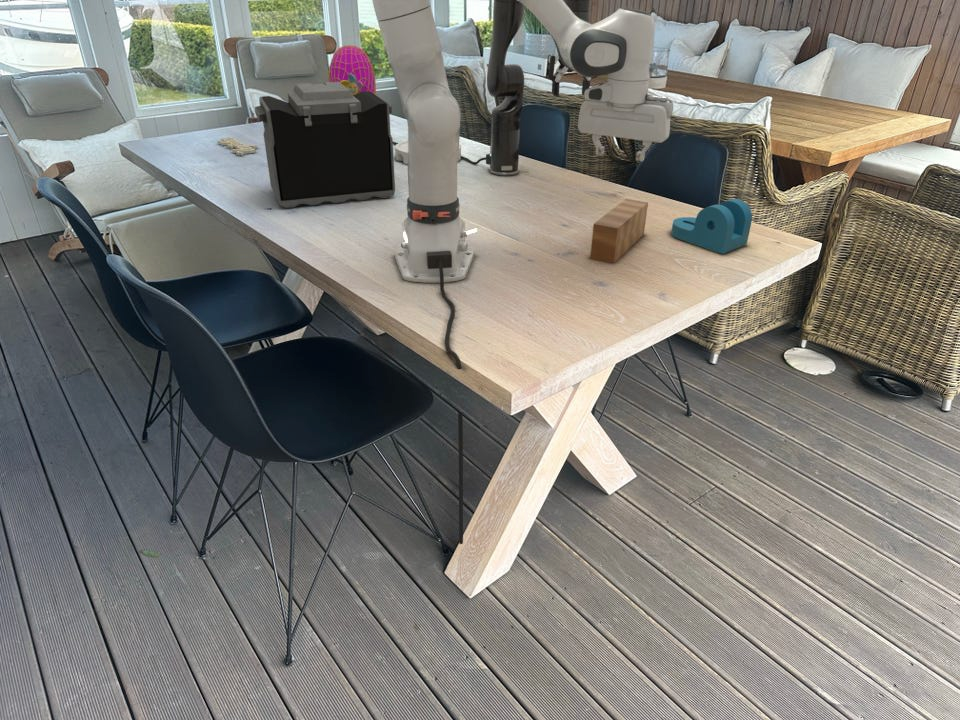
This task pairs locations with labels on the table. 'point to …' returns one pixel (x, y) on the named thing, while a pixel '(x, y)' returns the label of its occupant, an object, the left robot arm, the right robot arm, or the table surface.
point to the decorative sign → (237, 146)
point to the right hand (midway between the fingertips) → (570, 95)
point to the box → (618, 230)
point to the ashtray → (402, 152)
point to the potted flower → (352, 84)
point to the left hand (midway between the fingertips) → (619, 157)
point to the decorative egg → (352, 67)
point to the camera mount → (716, 226)
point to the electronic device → (327, 145)
